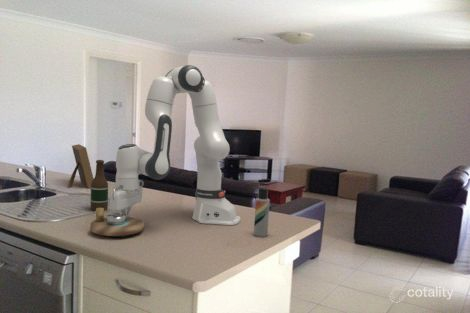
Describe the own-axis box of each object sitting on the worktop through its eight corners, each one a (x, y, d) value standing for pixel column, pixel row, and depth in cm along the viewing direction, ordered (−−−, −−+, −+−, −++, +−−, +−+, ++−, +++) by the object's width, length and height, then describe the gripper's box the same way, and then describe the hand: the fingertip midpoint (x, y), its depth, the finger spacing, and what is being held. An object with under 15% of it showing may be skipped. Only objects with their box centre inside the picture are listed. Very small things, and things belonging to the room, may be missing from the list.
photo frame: (87, 182, 256) (88, 144, 254) (95, 188, 238) (95, 147, 235) (63, 183, 249) (63, 144, 246) (69, 189, 230) (69, 147, 228)
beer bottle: (89, 212, 182) (90, 161, 180) (91, 208, 190) (92, 159, 187) (107, 211, 184) (108, 161, 182) (108, 207, 192) (109, 159, 189)
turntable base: (141, 229, 160) (142, 226, 160) (124, 239, 146) (124, 235, 146) (111, 225, 163) (111, 222, 163) (91, 234, 150) (91, 231, 150)
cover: (128, 222, 156) (129, 212, 156) (117, 226, 150) (117, 216, 149) (114, 219, 159) (114, 210, 158) (102, 223, 152) (102, 213, 152)
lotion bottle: (259, 232, 165) (261, 185, 163) (270, 235, 162) (273, 187, 160) (250, 234, 161) (253, 186, 159) (262, 238, 157) (265, 189, 155)
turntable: (152, 224, 162) (152, 208, 161) (127, 238, 143) (128, 219, 142) (108, 219, 167) (109, 203, 166) (79, 231, 147) (79, 213, 147)
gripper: (120, 189, 148) (119, 224, 149) (145, 181, 168) (144, 212, 169) (105, 187, 149) (104, 222, 151) (132, 179, 169) (131, 211, 170)
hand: (126, 217), depth 160 cm, fingers closed
